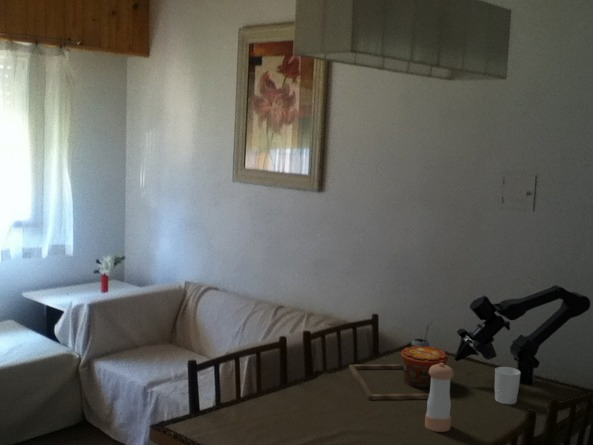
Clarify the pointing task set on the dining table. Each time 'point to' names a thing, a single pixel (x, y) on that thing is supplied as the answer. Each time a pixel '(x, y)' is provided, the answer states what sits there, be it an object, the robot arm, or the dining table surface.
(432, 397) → the pepper shaker
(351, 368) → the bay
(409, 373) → the food container
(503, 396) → the white cup
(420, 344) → the mate gourd
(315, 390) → the dining table surface
